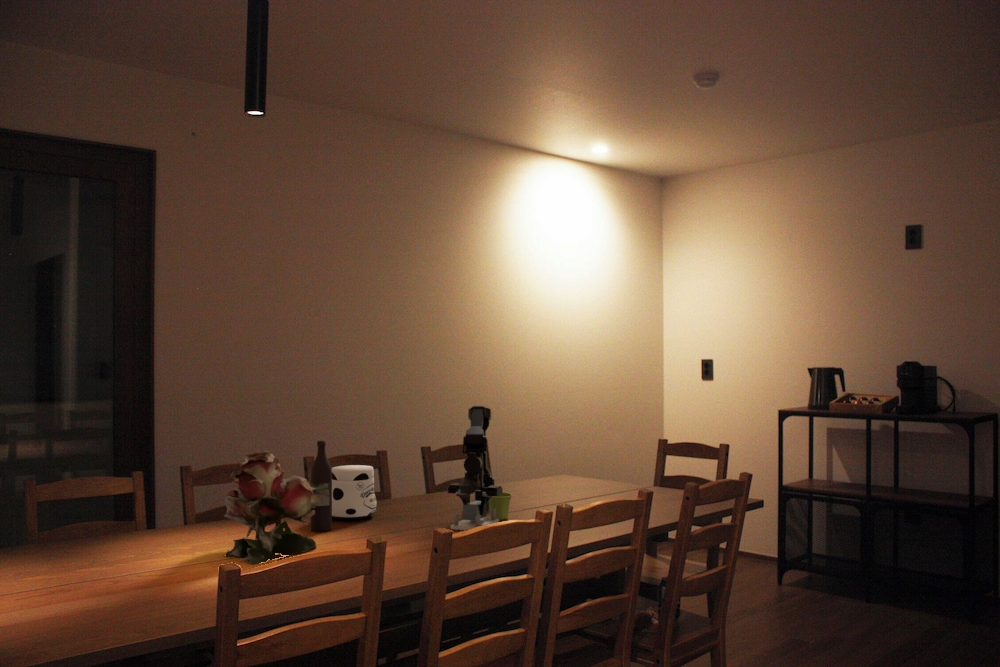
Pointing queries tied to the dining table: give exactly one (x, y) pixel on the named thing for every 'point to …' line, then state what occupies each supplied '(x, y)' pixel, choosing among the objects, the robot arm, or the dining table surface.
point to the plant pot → (500, 505)
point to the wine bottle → (322, 491)
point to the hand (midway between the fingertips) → (474, 514)
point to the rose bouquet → (269, 509)
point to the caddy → (471, 523)
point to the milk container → (353, 492)
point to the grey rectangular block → (472, 510)
